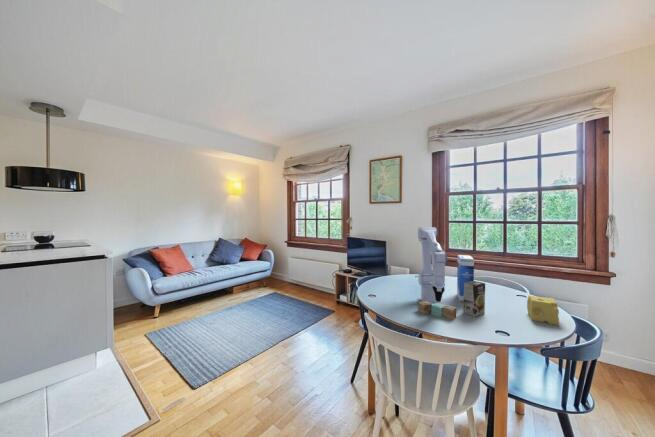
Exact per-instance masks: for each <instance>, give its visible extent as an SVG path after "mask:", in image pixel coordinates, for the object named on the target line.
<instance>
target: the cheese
mask: <svg viewBox="0 0 655 437" xmlns="http://www.w3.org/2000/svg"><path fill="white" fill-rule="evenodd" d="M526 308H527V312H528V316H529V318H530V320H531V321H535V322H541V323H544V322H545V323H548V324H550V325H554V324H555V325H556V326H559V324H560V317H559V313H560V312H559V306H558V303H557V301H556V299H555V298H553V297H545V296H543V297H542V296H536V295H530V294H529V295H528V297H527V300H526Z"/></svg>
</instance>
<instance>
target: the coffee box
mask: <svg viewBox="0 0 655 437" xmlns="http://www.w3.org/2000/svg"><path fill="white" fill-rule="evenodd" d="M462 302H463V303H462V305H463V307H462V313H464V314H466V315H469V316H472V317H478V316H481V315H484V314H486V313H485V312H486V310H485V308H486V307H485V306H486V283H485V282H481V281H476V280H474V281H470V282H465V283H464V300H463V301H462Z"/></svg>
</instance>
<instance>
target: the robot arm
mask: <svg viewBox="0 0 655 437" xmlns="http://www.w3.org/2000/svg"><path fill="white" fill-rule="evenodd" d="M437 235H438V230H437V227H436V226H433V227H430V226H427V227H425V226H422V227H421V226H419V227H418V228H417V239H418V241H419V242H420V243H421V252H422V269H421V270H420V271H419V272H418V278H417V279H418V284H419V286H420V288H421V289H420V297H417V300H419V301H420V302H421V301H427V302H429V303H431V304H432V303H433V304H434V303H439V302H441V301H442V299H443V298H442V297H443V294H444V292H445V290H446V288H445V287H446V283H445V282H446V278H445V277H446V263H447V262H448V254H447V252H446V251H444V250H443V248H442V246H441V244H440V243H439V242H437V239H436V237H437Z"/></svg>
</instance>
